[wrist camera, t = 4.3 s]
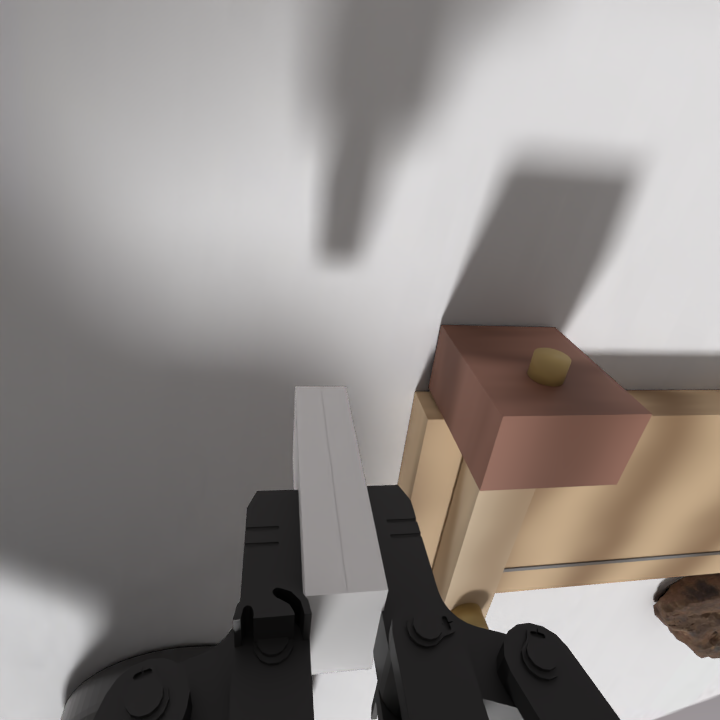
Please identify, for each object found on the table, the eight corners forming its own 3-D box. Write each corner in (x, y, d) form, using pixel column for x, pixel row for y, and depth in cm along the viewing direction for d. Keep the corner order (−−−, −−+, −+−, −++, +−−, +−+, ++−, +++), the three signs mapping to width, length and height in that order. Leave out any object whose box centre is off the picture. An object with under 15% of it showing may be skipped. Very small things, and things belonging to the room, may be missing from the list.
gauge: (393, 559, 26) (422, 676, 21) (444, 306, 18) (510, 393, 13) (478, 552, 27) (526, 663, 22) (560, 309, 19) (663, 392, 14)
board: (381, 568, 27) (389, 603, 25) (415, 391, 21) (428, 420, 19) (713, 543, 31) (740, 572, 29) (822, 389, 25) (864, 413, 23)
